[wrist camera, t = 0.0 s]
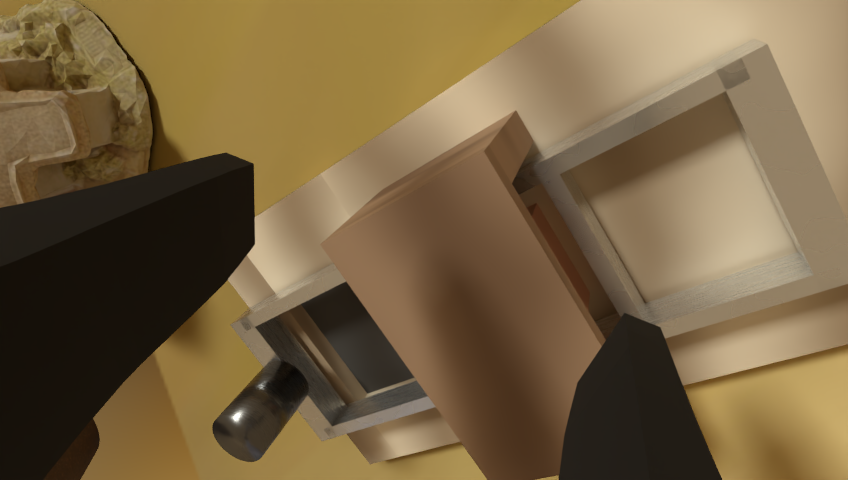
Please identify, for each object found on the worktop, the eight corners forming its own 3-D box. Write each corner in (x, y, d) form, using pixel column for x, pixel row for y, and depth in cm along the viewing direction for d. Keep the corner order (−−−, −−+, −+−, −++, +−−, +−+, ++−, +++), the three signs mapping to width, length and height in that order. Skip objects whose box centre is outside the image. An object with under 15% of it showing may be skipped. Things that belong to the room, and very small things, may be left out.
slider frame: (327, 421, 27) (272, 506, 22) (242, 311, 25) (164, 379, 21) (850, 252, 16) (942, 356, 11) (753, 38, 14) (815, 62, 10)
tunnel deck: (377, 449, 28) (325, 552, 23) (219, 241, 25) (119, 306, 20) (1006, 281, 16) (1196, 424, 11) (834, -169, 13) (981, -270, 8)
